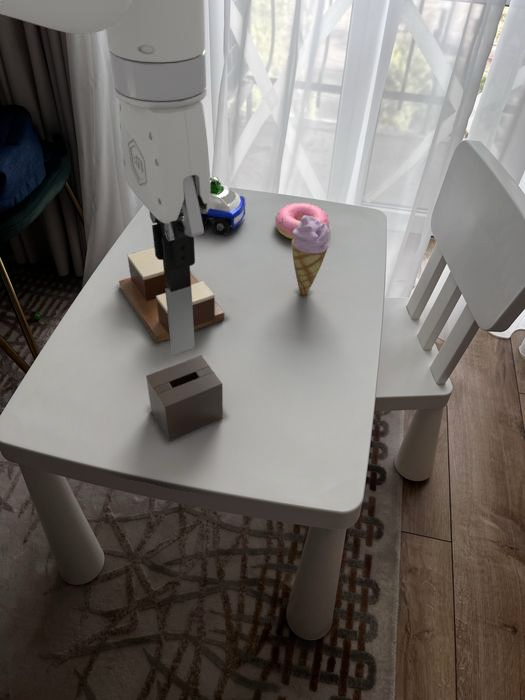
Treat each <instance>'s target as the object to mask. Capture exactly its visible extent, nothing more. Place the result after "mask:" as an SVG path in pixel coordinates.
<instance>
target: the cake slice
mask: <svg viewBox="0 0 525 700" xmlns="http://www.w3.org/2000/svg"><path fill="white" fill-rule="evenodd" d="M198 282H199V283H195V284H192V285H191V290H192V307H193V324H194V326H197V325H200V324H203V323H205V322H208V321H211V320H214V319H215V302H216V301H215V300H216V299H215V294H214V292H213V291H212V290H211V289H210V288H209V286H208V285H207V284H206V283H205V281H202V280H201V281H198ZM156 300H157V308H158V317H159V321H160V323H161V324H162V325H163V327H164V328H165V330H166V331H167V333H168V334H169V335H170V331H169V322H168V312H167V302H166V293H164V294H161V295H157V296H156Z"/></svg>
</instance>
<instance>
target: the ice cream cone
mask: <svg viewBox="0 0 525 700" xmlns="http://www.w3.org/2000/svg"><path fill="white" fill-rule="evenodd" d="M299 219H300V218H299ZM300 221H301V222H300V223H299V224H298V225H297V227H296V228H295V229H294V231H293V240H292V239H291V251H292V261H293V267H294V271H295V277H296V281H297V287H298V291H299V294H300V295H302V296H307V295H308V293H309V291H310V289H311V287H312V285H313V284H314V282H315V280H316V277H317V275H318V274H319V271H320V269H321V266H322V264H323V262H324V260H325V257H326V255H327V251H328V248H329V246H330V232H331V230H330V229H329V227H327V224H326V223H322V224H321V223H320V222H319V220H318V219H316V218H314V217H312V216H306V215H304V216H303V217H302V218H301V219H300Z"/></svg>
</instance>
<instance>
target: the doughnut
mask: <svg viewBox="0 0 525 700" xmlns="http://www.w3.org/2000/svg"><path fill="white" fill-rule="evenodd" d="M304 215H306V216H312V217H314V218H316V219H318V220H319V222H320V223H321V224H322V223H326V224H327V227H328V228H329V227H330V223H331V222H330V219H329V216H328V214H327V213H326V212H325V211H324V209H323V208H321V207H320V206H317V205H315V204H312V203H307V202H295V203H294V202H293V203H290V204H287V205H283V207H281V208H280V209H279V210H278V211H277V213H276V216H275V220H274V221H275V225H276V228H277V230H278V232H279V233H280V234H281V235H282V236H284V237H286V238H287V239H289V240H291V241H292V240H293V231H294V229H295V228H296V227H297V225H298V224H299V223H300V222H301V221H300V219H301V218H302V217H303V216H304ZM299 218H300V219H299Z"/></svg>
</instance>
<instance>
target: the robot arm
mask: <svg viewBox="0 0 525 700" xmlns="http://www.w3.org/2000/svg"><path fill="white" fill-rule="evenodd" d="M0 15H2V16H6V17H10V18H12V19H15V20H20V21H24V22H26V23H30V24H33V25H37V26H40V27H43V28H47V29H51V30H55V31H58V32H62V33H67V34H73V35H92V34H95V33H101V32H103V31H105V30H106V31H105V32H106V38H107V45H108V50H109V51H108V52H109V57H110V65H111V73H112V80H113V86H114V87H113V88H114V95H115V97H116V98H117V99H118V116H119V129H120V130H119V131H120V140H121V150H122V151H121V153H122V161H123V171H124V178H125V181H126V183H127V185H128V187H129V189H130V190H131V191H132V193H134V195H135V196H136V197H137V199H139V201H140V202H141V203H142V204H143V205H144V207H145V208H146V209H147V210H148V212H149V218H150V220H151V223H152V225H151V229H152V237H153V239H152V240H153V246H154V247H153V248H155V256H156V257H157V259H158V260H163V257H162V247H161V237H160V227H159V221H161V222H162V223H164V229H165V236H163V237H162V245H163V255H164V265H165V269H166V270H167V271H168V272H172V271H175V270H178V269H182V268H185V267H188V266H190V267H191V266H194V265H195V263H196V253H195V237H197V236H201V235H204V233H205V229H204V227H203V223H202V218H201V213H203V214H206V213H207V212H208V210H209V207H210V182H211V180H210V177H211V169H210V156H209V155H210V154H209V143H208V135H207V127H206V126H207V125H206V118H205V110H204V105H203V100H204V99H205V98H206V97H207V60H206V59H207V56H206V54H207V53H206V20H205V19H206V18H205V0H0ZM178 217H183V218H184V220H181V221H177V222H175V224H174V221H176V220H177V218H178Z"/></svg>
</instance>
